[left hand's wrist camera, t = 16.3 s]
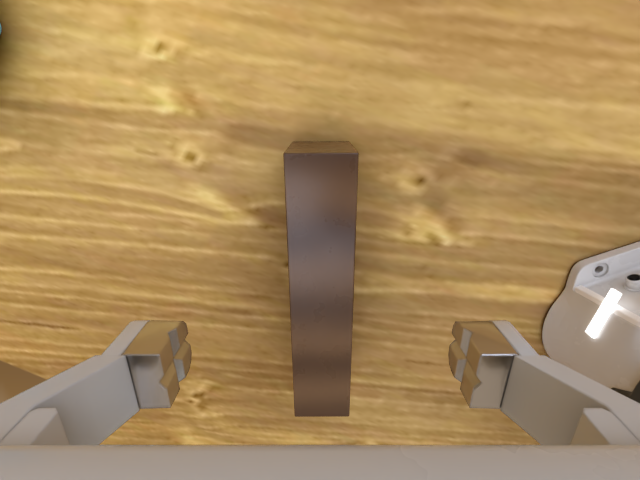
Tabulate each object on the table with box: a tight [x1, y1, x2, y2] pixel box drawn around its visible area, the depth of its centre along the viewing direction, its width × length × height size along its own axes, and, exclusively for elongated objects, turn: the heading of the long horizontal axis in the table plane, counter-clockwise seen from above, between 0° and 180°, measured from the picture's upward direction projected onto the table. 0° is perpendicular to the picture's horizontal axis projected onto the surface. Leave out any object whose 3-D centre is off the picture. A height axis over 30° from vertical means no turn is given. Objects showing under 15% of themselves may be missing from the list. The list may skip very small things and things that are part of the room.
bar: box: [284, 141, 358, 416], centre depth 33 cm, size 26×5×8 cm, turn 0°
